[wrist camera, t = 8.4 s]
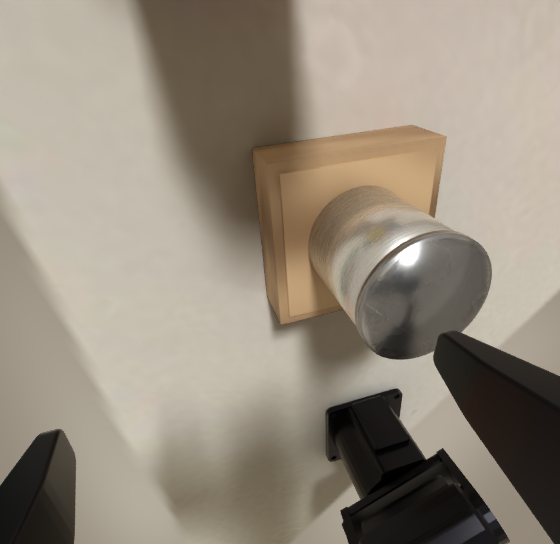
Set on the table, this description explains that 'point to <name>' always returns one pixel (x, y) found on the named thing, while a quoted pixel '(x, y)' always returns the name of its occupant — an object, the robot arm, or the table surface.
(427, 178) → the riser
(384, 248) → the tin
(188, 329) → the table surface
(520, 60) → the table surface
